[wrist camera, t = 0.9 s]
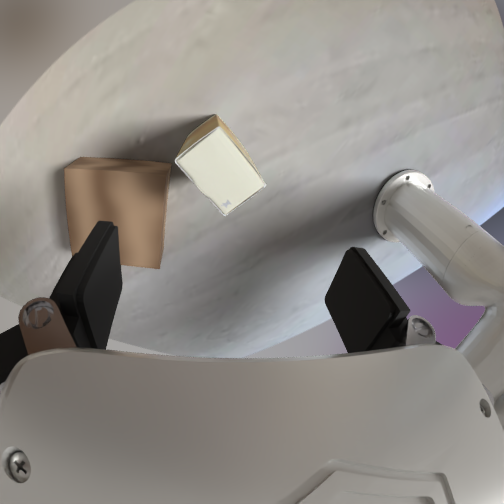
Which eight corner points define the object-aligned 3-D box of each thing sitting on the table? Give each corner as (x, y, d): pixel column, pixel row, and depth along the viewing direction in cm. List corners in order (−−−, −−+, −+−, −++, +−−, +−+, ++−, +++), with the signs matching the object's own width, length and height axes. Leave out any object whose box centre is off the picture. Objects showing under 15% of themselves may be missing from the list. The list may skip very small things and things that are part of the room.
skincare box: (248, 152, 31) (271, 189, 21) (219, 173, 32) (226, 221, 22) (214, 110, 27) (220, 123, 17) (184, 134, 28) (172, 161, 18)
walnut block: (171, 162, 30) (166, 175, 26) (163, 246, 36) (159, 269, 32) (81, 156, 27) (64, 168, 23) (84, 238, 33) (72, 258, 29)
